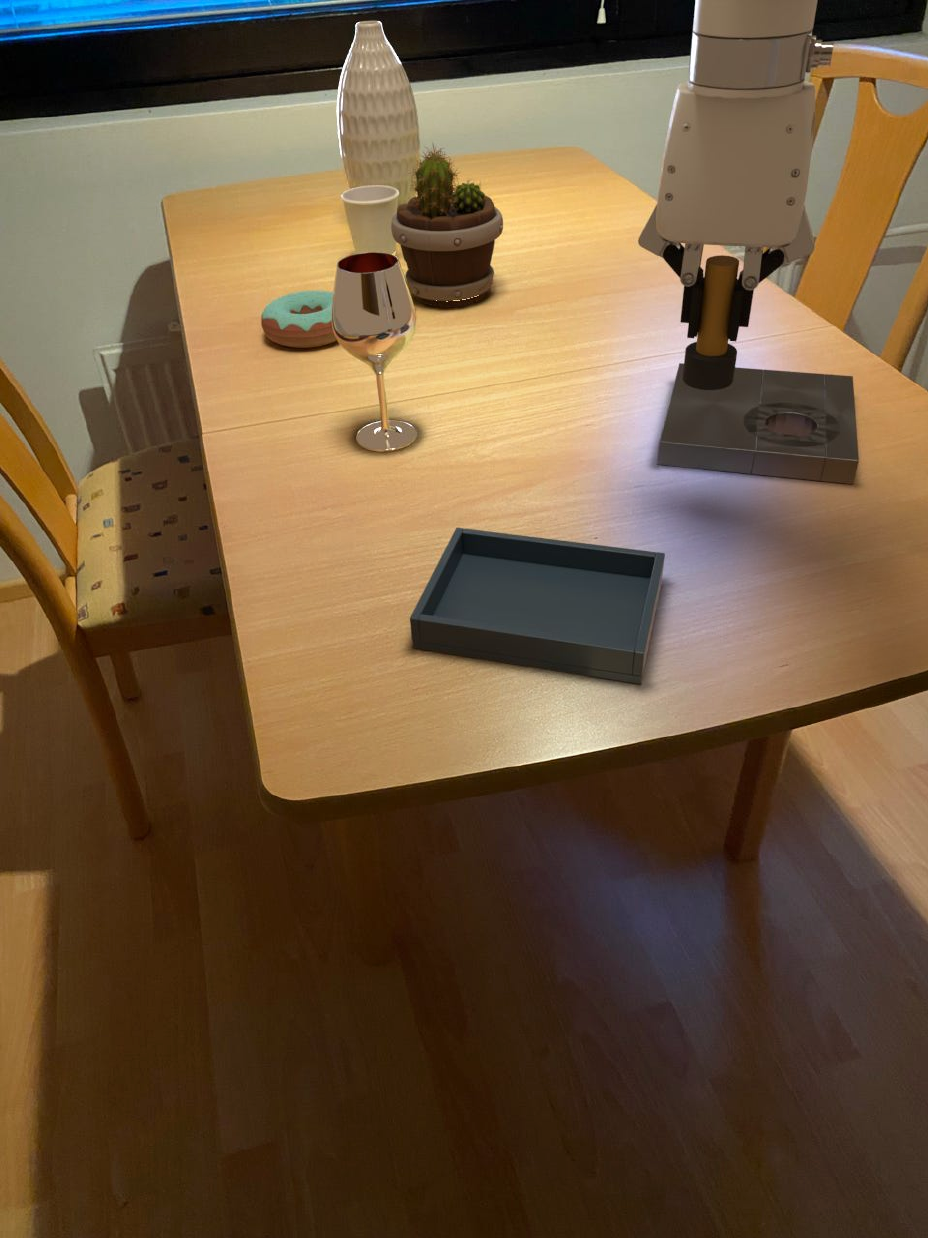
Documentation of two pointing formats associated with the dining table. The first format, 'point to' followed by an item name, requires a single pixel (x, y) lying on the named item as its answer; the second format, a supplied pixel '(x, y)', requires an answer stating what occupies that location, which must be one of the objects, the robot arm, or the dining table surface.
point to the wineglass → (375, 331)
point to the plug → (713, 329)
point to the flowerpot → (446, 236)
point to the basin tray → (541, 604)
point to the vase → (377, 115)
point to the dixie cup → (371, 217)
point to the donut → (300, 319)
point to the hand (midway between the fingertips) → (713, 331)
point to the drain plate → (765, 426)
